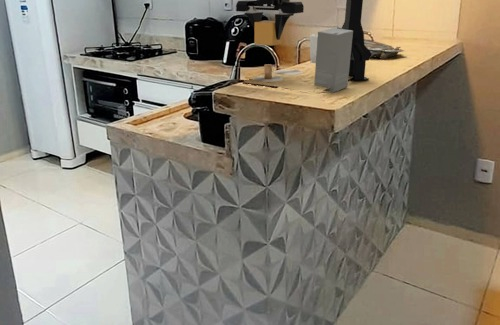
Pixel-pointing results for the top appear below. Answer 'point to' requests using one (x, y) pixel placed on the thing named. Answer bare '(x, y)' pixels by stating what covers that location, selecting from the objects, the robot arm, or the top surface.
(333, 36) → the skincare box
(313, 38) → the white cup
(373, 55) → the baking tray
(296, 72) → the board
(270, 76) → the pigtail post
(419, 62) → the top surface
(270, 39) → the tan wooden cube
